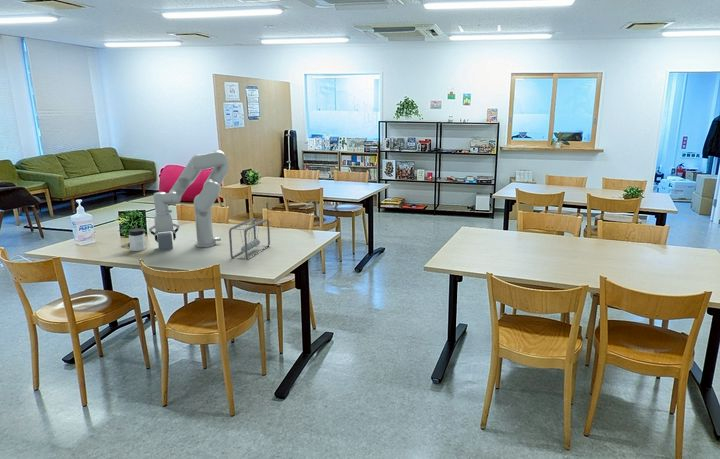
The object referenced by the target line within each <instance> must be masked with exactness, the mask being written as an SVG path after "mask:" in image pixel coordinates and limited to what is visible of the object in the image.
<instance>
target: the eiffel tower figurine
mask: <svg viewBox="0 0 720 459" xmlns="http://www.w3.org/2000/svg"><path fill="white" fill-rule="evenodd" d="M129 226H130V227H129V228H130V229H129V230H131V229H132V226H131V225H129ZM128 247H129V248H128ZM120 248H127V249H129V250H130V242H129V241H128V243H124V244H122V245H120Z"/></svg>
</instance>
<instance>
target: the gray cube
mask: <svg viewBox="0 0 720 459" xmlns="http://www.w3.org/2000/svg"><path fill="white" fill-rule="evenodd" d="M157 238H158V242H157V245H158V251H159V252H160V251H168V250H169V251H170V250H173V249H174V246H173V233H172V231H168V232H158V234H157Z"/></svg>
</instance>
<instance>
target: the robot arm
mask: <svg viewBox="0 0 720 459" xmlns="http://www.w3.org/2000/svg"><path fill="white" fill-rule="evenodd" d="M211 168H212V169H211ZM208 169H211V172H210V173H209V175H208V177H207V179H206V181H204V183H203V185H202V190H201V191H200V193H199V194H197V195H195V197H194V199H193V207H194V208H193V210H194V216H195V219H194V220H195V232H196V241H195V243H194V246H195V248H196V247H197V248H208V247H209V248H210V247H213V246H215V245H217V242H220V241H222V238H221V237H215V236H214V234H213V222H212V220H213V219H212V206H213V205H214V203H215V202H216V200H217V198H218V196H219V194H220V193H221V186H222V183H223V181H225V179H226V176H227V174H228V172H229V161H228V158H227V155H226V154H225V152H224V151H223V150H220V149H214V150H213V151H212V152H210V153H205V154H199V153H196V154H194V155H193V156H192V157H191V158H190V160H189V161H188V163H187V165H186V166H185V167H184V169H183V170H182V172H181V174H180V175H179V176H178V178H177V179H176V181H175V183H174V184H173V185H172V187H171V189H169V192H165V191H157V192H154V193H153V202H154V211H155V215H154V218H153V219H154V225H152V226H151V227H150V228H148V231H149V233H150V234H151V235H153V236H154V241H155V242H156V243H158V236H157V234H158V233H166V232H171V233H172V240H173V241H176V238H177V236H176V235H177V232H179V229H180V225H179V224H176V223H174V221H173V218H172V215H171V213H172V211H173V210H172V209H169V208H170V207H169V205H178V204H179V203H180V202H181V201H182V197H183V195H184V194H185V192H186V191H187V189H188V188H189V187H190V186H191V185H192V184H193V183H194V182H195V181H196V180H197V178H198V176H199V175H200V173H201V172H202V171H204V170H208ZM175 227H176V228H175ZM174 228H175V229H174ZM153 230H155V231H153Z"/></svg>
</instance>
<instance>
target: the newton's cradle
mask: <svg viewBox="0 0 720 459" xmlns="http://www.w3.org/2000/svg"><path fill="white" fill-rule="evenodd" d="M265 222H267V225H266V226H267V227H266V228H267V245H265V246H263V248H260V249H259V250H258V251H256V252H255V253H253V254H251V255H250V256H248V255H249V254H248V251H250V250H251V249H253V248H255V247H258V246H257V245H260V244H261V241H260V239H258V237H259V236H258V235H257V236H256V234H257V233H256V232H259V229H260V227H258V231H256V230H257V229H256V227H257V226H260V225H261V224H264V223H265ZM245 226H246V227H245ZM241 227H242V228H241ZM251 229H253V231H251V232H249V231H250V230H251ZM232 230H238V231H240V233H242V232H241V230H242V231H243V233H244V235H243V236H244V241H243V239H241V240H242V243H244V244H242V245H243V246H241V248H240V252H238V253H236V254H235V255H234V254H233V243H232V242H233V241H232ZM270 233H271V232H270V220H269V219H268V218H265V219H264V218H257V221H256V218H254V217H251V218H249V219H247V220H244V221H243V222H240V223H239V224H237V225H234V226H232V227H230V228H229V231H228V235H229V236H228V237H229V251H230V254H229V255H230V258H231V259H234V258H233V257H235V256H236V257H238V256H239V257H240V255H241V254H240V253H242V252H243V253H245V258H246V260H247V259H248V258H250V257H251V256H253V255H255V254H256V253H258V252H259V251H261V250H263V249H264V248H266V247H267V246H269V245H270V244H271V237H270V236H271V235H270ZM250 234H251V235H253V236H251V235H250ZM247 235H248V237H250V236H251V240H250V238H247ZM243 236H242V235H240V237H241V238H243ZM247 239H248V240H247ZM247 241H248V242H247ZM269 247H270V246H269ZM266 249H267V248H266ZM263 251H264V250H263ZM261 252H262V251H261ZM243 253H242V254H243ZM239 254H240V255H239ZM258 254H259V253H258ZM237 255H238V256H237ZM255 256H256V255H255ZM253 257H254V256H253ZM239 259H242V257H240V258H239ZM250 259H251V258H250ZM248 260H249V259H248Z"/></svg>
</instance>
